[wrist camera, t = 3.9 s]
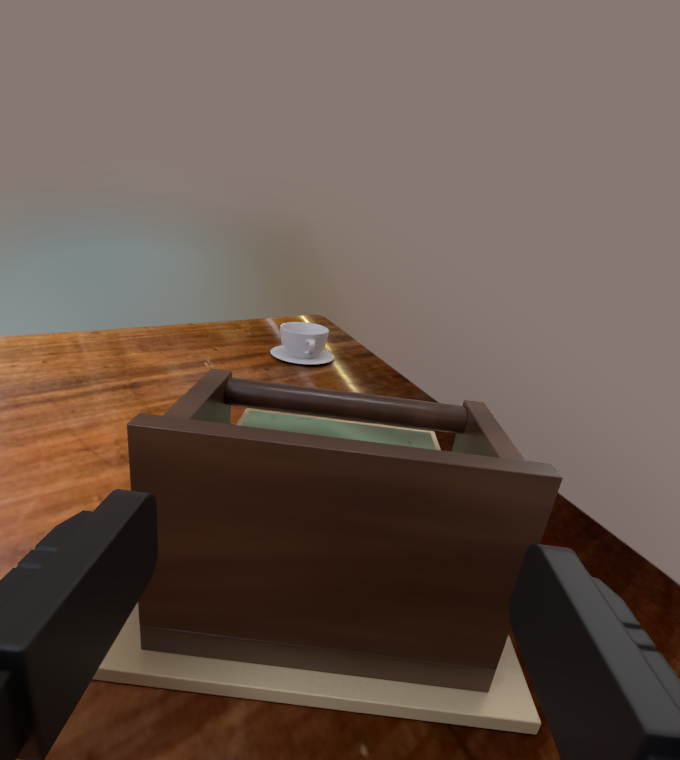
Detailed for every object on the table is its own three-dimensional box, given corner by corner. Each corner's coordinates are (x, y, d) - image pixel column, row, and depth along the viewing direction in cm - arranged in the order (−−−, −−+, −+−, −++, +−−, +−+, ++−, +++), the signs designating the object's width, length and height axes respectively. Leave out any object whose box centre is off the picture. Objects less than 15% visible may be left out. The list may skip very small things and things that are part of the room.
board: (537, 735, 19) (542, 723, 18) (85, 679, 19) (84, 666, 18) (432, 438, 45) (434, 431, 45) (245, 414, 45) (246, 407, 45)
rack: (488, 693, 19) (562, 477, 15) (140, 650, 19) (126, 423, 15) (446, 540, 29) (485, 383, 25) (212, 511, 29) (214, 349, 25)
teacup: (265, 346, 69) (266, 318, 67) (323, 348, 72) (326, 321, 71) (276, 367, 60) (279, 335, 59) (342, 367, 64) (346, 337, 62)
